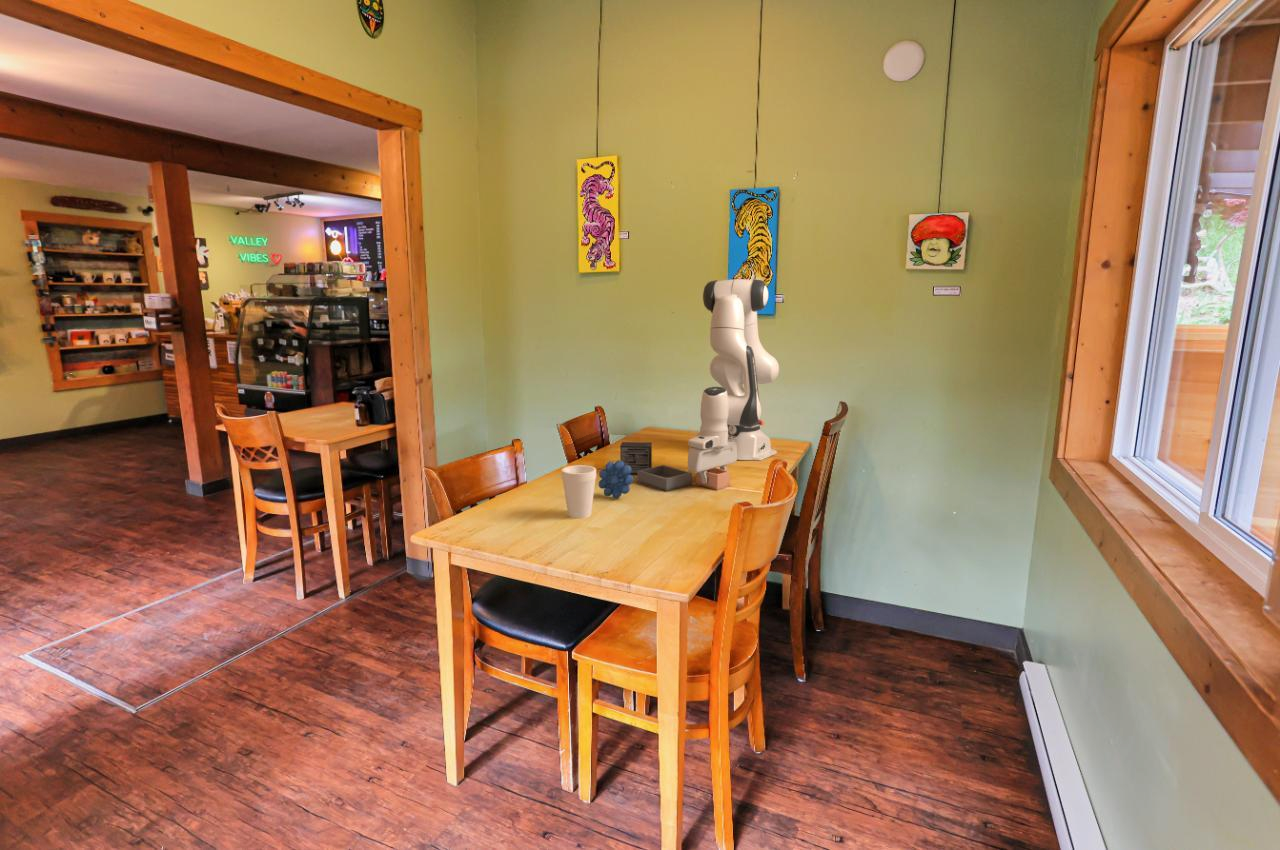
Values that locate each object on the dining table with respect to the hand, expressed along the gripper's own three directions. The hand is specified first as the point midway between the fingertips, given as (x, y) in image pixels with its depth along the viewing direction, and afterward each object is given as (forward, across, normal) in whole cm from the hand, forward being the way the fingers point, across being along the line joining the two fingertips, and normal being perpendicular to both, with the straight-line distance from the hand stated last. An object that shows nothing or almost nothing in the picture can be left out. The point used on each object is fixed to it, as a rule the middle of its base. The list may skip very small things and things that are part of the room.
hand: (712, 480), depth 206 cm
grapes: (+2, +31, -11) cm, 33 cm away
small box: (+2, +8, -28) cm, 29 cm away
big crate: (+2, +10, -12) cm, 16 cm away
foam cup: (+2, +49, -6) cm, 49 cm away
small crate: (+2, 0, 0) cm, 2 cm away
